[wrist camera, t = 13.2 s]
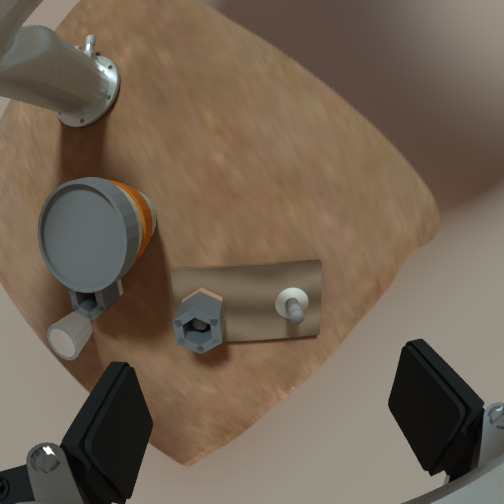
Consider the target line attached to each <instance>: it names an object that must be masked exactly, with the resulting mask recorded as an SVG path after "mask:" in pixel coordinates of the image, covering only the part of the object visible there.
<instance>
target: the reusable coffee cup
mask: <svg viewBox="0 0 504 504" xmlns="http://www.w3.org/2000/svg"><path fill="white" fill-rule="evenodd" d="M156 220H157V219H156V212H155V208H154V206H153V204H152V202H151V201H150V199H149V198H148V197H147V196H146V195H145V194H143V193H142V192H140V191H137V190H136V189H134V188H133V187H131V186H129V185H126V184H123V183H120V182H116V181H113V180H109V179H102V178H99V177H85V178H80V179H76V180H72V181H68V182H66V183H63V184H61V185H59V186H58V187H57V188H56V189H55V190H53V191H52V193H51V194H50V195H49V196H48V198H47V199H46V201H45V203H44V205H43V207H42V210H41V213H40V216H39V222H38V240H39V247H40V250H41V253H42V257H43V259H44V261H45V263H46V265H47V267H48V268H49V270H50V271H51V273H52V274H53V275H54V276H55V277H56V278H57V279H58V280H59V281H60V282H61V283H62V284H64V285H65V286H66V287H68V288H70V289H72V290H75V291H79V292H83V293H92V292H96V291H100V290H102V289H104V288H106V287H107V286H109V285H111V284H113V283H115V282H117V281H119V280H120V279H121V278H122V277H123V276H124V275H126V273H127V272H128V271H129V269H130V268H131V267H132V266H133V265H134V264H135V262H136V261H137V260H138V258H139V257H140V256H141V254H142V253H143V252H144V250H145V249H146V248H147V246H148V244H149V242H150V239H151V237H152V235H153V233H154V231H155V227H156Z"/></svg>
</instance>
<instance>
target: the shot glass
mask: <svg viewBox="0 0 504 504" xmlns="http://www.w3.org/2000/svg"><path fill="white" fill-rule="evenodd" d="M92 332H93V330H92V325H91V322H90V320H89V319H87V318H86V317H84V316H82V315H81V314H79V313H77V312H76V311H75V312H71V313H70V314H68V315H67V316H65V317H64V318H62V319H60V320H59V321H57V322H56V323H54V324H53V325H51V326H50V327H49V328H48V330H47V339H48V342H49V344H50V346H51V348H52V349H53V351H54V352H55V353H56V354H57V355H58V356H60V357H61V358H63V359H66V360H74V359H75V358H77V356H78V355H79V353H80V352H81V350H82V349H83V347H84V346H85V344H86V343H87V341H88V339H89V338H90V336H91V335H92Z"/></svg>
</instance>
